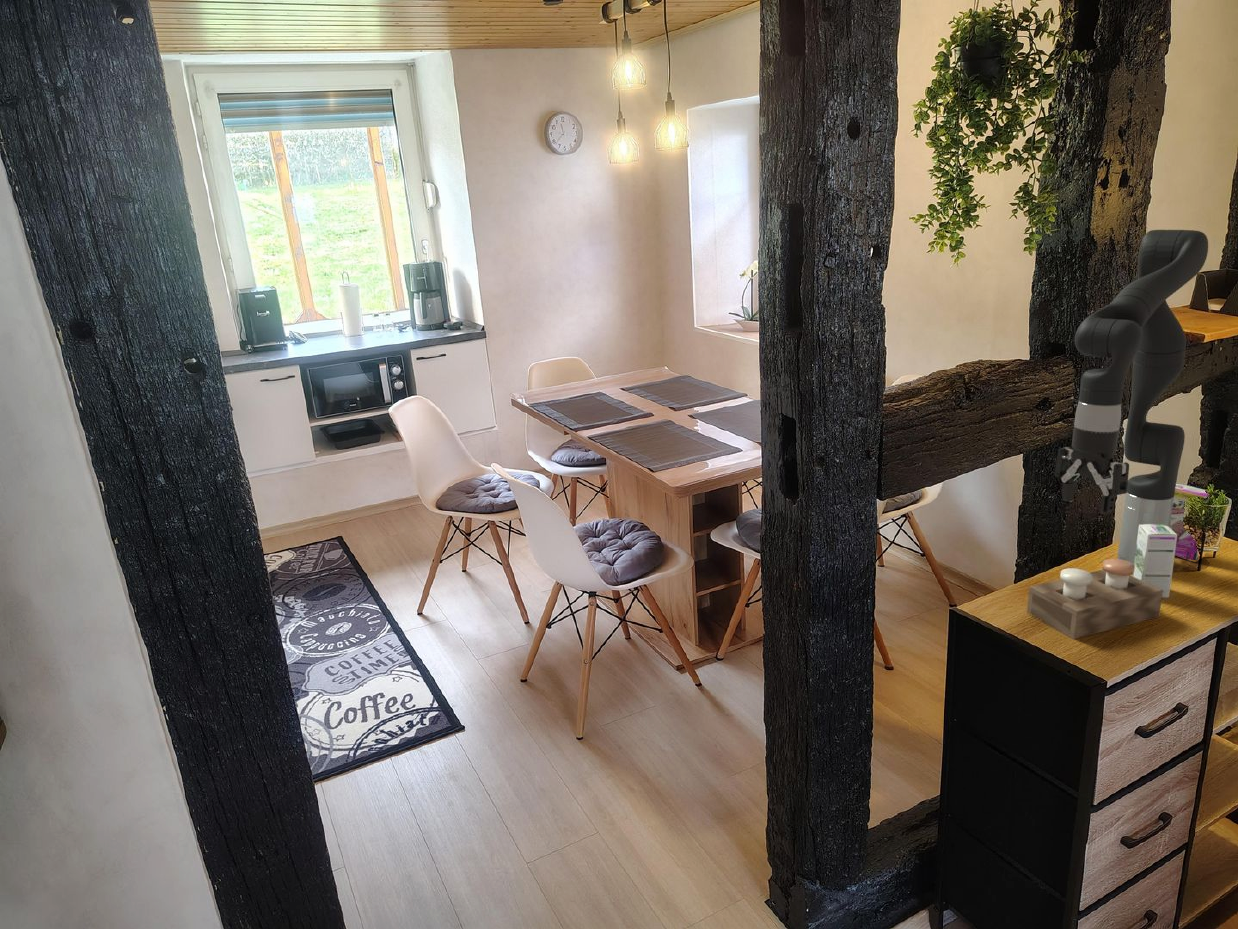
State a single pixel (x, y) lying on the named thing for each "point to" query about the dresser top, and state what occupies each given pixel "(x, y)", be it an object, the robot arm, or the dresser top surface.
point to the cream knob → (1075, 583)
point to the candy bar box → (1184, 539)
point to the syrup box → (1155, 556)
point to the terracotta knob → (1117, 573)
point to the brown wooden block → (1094, 605)
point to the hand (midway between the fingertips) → (1086, 506)
